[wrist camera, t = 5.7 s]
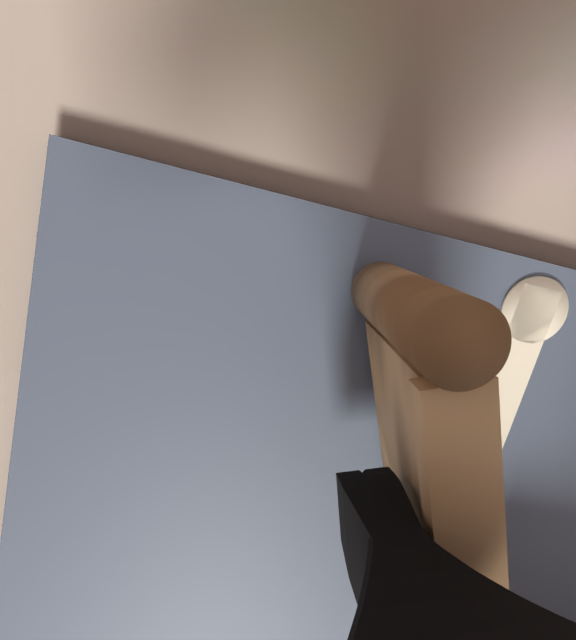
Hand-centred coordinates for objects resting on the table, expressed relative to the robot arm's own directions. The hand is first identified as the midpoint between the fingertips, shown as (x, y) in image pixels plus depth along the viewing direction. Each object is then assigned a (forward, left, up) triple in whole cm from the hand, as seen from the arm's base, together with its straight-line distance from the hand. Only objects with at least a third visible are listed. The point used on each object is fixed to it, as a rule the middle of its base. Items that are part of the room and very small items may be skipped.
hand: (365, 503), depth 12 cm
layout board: (-4, +1, -3) cm, 5 cm away
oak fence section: (-1, -1, -2) cm, 3 cm away
